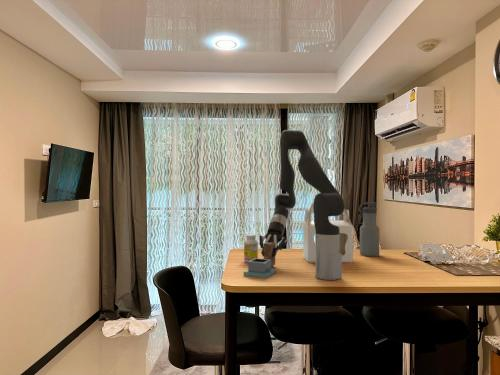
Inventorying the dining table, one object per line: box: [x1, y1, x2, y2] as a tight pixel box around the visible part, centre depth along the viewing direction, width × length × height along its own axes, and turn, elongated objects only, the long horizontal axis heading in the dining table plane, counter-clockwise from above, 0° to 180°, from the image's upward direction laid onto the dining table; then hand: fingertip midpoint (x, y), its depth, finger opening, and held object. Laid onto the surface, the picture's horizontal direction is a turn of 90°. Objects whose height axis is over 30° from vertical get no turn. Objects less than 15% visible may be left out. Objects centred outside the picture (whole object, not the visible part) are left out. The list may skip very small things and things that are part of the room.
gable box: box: [302, 202, 354, 263], centre depth 166 cm, size 22×13×28 cm, turn 91°
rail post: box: [263, 242, 276, 268], centre depth 150 cm, size 4×4×10 cm
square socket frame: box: [247, 257, 272, 273], centre depth 137 cm, size 7×7×4 cm
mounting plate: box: [243, 268, 276, 279], centre depth 137 cm, size 10×10×2 cm
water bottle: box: [357, 201, 380, 257], centre depth 178 cm, size 10×10×28 cm
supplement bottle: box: [243, 233, 259, 263], centre depth 161 cm, size 7×7×13 cm
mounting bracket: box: [419, 243, 456, 263], centre depth 159 cm, size 12×6×11 cm, turn 86°
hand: (268, 255), depth 148 cm, fingers closed on rail post, 4 cm apart
